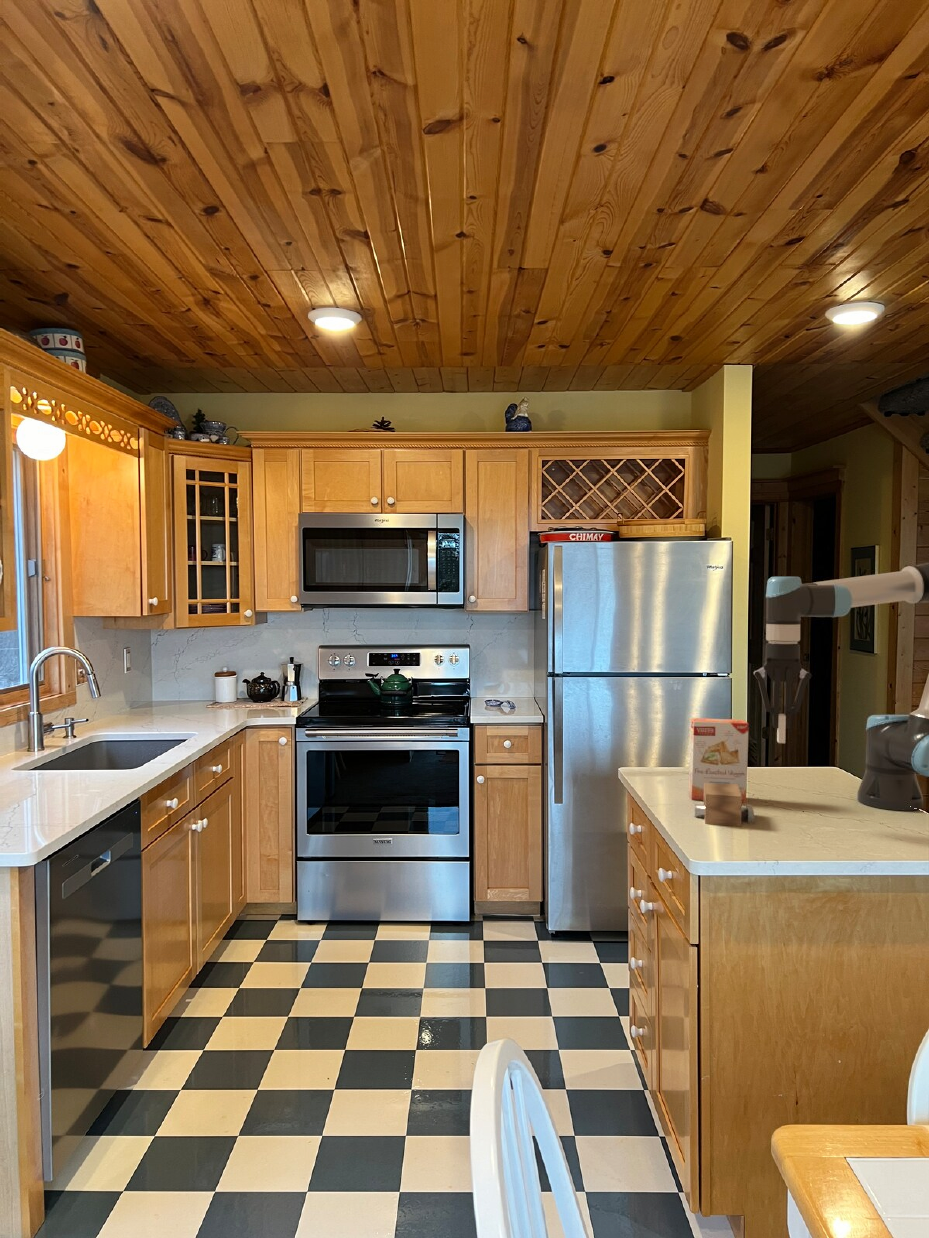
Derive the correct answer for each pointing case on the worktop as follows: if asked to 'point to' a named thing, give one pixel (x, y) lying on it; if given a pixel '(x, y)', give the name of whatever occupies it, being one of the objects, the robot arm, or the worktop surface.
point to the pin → (746, 812)
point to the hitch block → (722, 804)
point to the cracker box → (718, 754)
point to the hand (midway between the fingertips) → (781, 742)
